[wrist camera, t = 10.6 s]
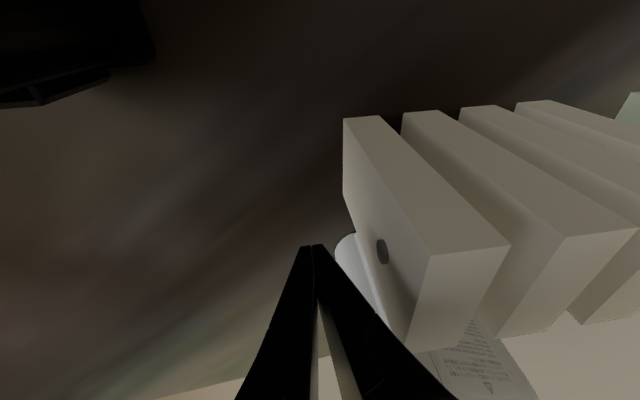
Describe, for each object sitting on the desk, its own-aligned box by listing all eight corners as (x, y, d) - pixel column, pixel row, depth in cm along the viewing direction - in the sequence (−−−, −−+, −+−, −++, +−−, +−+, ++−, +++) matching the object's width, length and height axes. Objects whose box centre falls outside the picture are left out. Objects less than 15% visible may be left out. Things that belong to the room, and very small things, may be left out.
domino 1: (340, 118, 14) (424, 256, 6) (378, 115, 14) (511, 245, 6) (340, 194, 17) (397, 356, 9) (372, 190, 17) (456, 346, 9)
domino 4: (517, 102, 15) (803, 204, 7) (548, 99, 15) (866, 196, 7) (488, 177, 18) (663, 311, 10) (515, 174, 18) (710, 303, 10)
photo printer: (323, 260, 20) (365, 493, 10) (350, 221, 18) (435, 462, 8) (419, 284, 24) (518, 473, 14) (450, 254, 22) (592, 449, 12)
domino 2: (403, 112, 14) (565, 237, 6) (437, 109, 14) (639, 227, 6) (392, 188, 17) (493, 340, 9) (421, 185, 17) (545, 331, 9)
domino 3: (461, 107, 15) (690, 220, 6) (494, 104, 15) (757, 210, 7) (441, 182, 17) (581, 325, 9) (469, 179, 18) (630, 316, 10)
